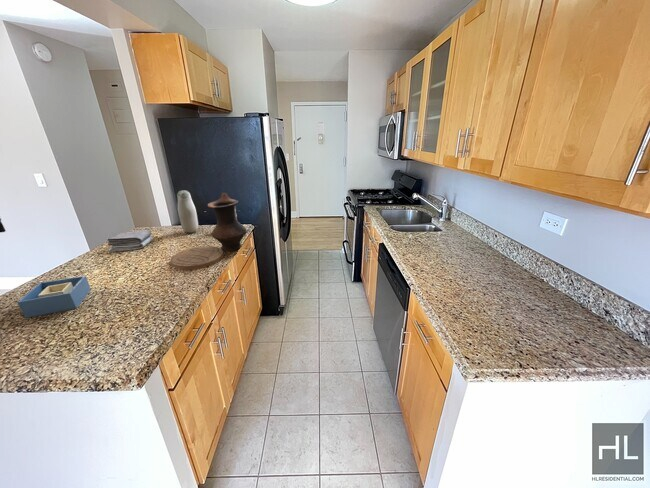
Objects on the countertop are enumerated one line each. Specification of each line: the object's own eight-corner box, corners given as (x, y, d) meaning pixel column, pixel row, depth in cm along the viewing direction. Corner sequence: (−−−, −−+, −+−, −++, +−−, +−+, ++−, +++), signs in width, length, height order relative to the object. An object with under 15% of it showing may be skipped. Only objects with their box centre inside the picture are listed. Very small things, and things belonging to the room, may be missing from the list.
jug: (249, 252, 142) (242, 198, 131) (213, 256, 137) (202, 201, 126) (248, 239, 161) (242, 191, 150) (216, 242, 156) (207, 193, 145)
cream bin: (44, 308, 95) (37, 295, 93) (53, 298, 101) (47, 286, 99) (68, 304, 98) (62, 291, 95) (76, 294, 104) (71, 282, 101)
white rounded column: (180, 232, 173) (170, 190, 163) (194, 228, 181) (186, 188, 170) (188, 235, 168) (178, 192, 157) (202, 231, 176) (194, 189, 165)
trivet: (193, 247, 149) (192, 244, 149) (232, 250, 145) (232, 247, 144) (159, 267, 127) (158, 263, 126) (204, 271, 122) (203, 268, 121)
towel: (144, 249, 147) (141, 236, 144) (107, 252, 143) (102, 239, 140) (154, 239, 161) (150, 228, 158) (120, 242, 157) (116, 230, 154)
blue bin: (25, 318, 91) (16, 302, 88) (46, 297, 103) (39, 282, 101) (76, 308, 96) (69, 293, 94) (91, 289, 108) (85, 275, 106)
